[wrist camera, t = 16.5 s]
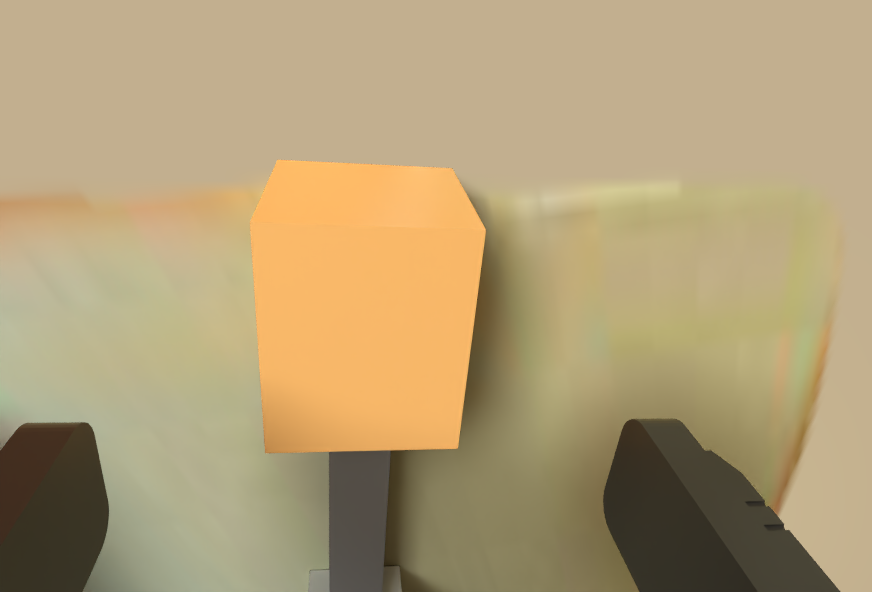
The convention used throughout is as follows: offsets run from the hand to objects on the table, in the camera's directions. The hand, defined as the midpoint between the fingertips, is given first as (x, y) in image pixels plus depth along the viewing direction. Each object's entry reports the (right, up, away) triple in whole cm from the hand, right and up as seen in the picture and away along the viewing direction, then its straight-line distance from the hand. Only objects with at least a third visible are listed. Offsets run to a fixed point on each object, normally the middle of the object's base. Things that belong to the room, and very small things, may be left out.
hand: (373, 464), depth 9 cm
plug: (-1, -1, +8) cm, 8 cm away
